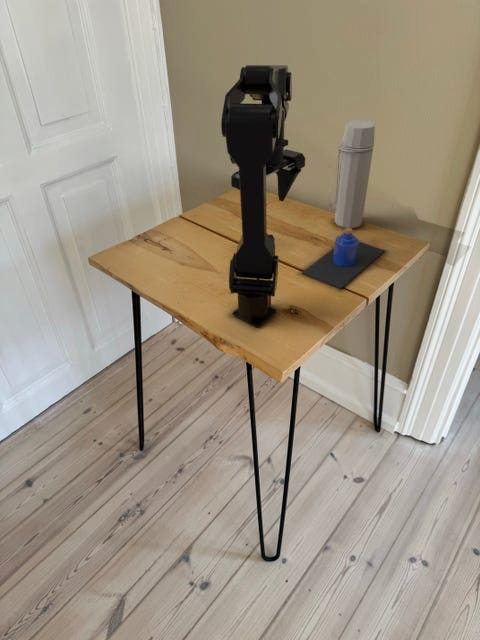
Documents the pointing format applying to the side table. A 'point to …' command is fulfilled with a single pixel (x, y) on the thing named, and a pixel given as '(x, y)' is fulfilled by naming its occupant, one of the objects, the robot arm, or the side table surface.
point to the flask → (345, 249)
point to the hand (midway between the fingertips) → (268, 207)
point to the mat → (341, 275)
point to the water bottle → (353, 173)
